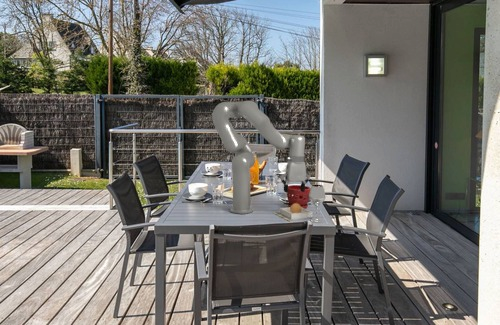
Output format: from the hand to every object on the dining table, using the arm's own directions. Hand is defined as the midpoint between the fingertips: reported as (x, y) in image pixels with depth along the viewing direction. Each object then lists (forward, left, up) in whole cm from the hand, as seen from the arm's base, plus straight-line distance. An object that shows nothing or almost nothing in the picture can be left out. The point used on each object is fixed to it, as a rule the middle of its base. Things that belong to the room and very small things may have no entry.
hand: (294, 191), depth 256 cm
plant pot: (-15, +11, -13) cm, 23 cm away
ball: (+1, +1, -12) cm, 12 cm away
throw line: (+2, -7, -13) cm, 15 cm away
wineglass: (+14, +5, -13) cm, 20 cm away
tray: (+1, +1, -13) cm, 13 cm away
